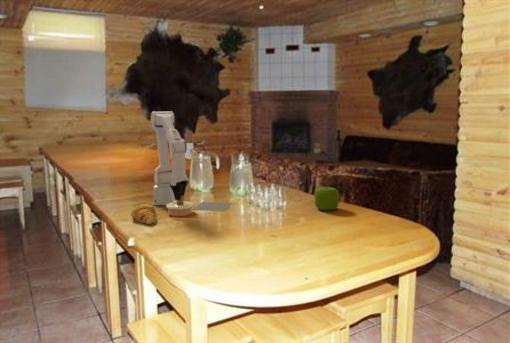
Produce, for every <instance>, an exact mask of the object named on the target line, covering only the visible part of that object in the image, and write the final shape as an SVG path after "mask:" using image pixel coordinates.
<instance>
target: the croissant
mask: <svg viewBox="0 0 510 343" xmlns="http://www.w3.org/2000/svg"><path fill="white" fill-rule="evenodd" d="M130 216H131V218H132V219H133V220H134V221H135V222H139V223H142V224H146V225H151V224H153V223H155V222H156V221H157V216H158V215H157V212H156V209H155V208H154V206H153V205H151V204H148V203H141V204H138V205H136V206H135V207H134V208H133V210H132V211H131V213H130Z"/></svg>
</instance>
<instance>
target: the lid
mask: <svg viewBox="0 0 510 343" xmlns="http://www.w3.org/2000/svg"><path fill="white" fill-rule="evenodd" d="M184 198H185V195H184V196H183V195H181V199H180V200H176V201H177V202H171V203H168V204H167V205H165V206H166V208H167V209H173V210H183V209H189V208H192V209H193V208H195V203H194V202H193V201H189V200H188V201H186V200H185V199H184Z"/></svg>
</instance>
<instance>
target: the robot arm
mask: <svg viewBox="0 0 510 343" xmlns="http://www.w3.org/2000/svg"><path fill="white" fill-rule="evenodd" d="M150 122H151V123H150V124H151V130H153V131H155V134H156V143H157V154H158V162H159V164H158V166H157V167H156V168H155V169H154V171H153V172H154V173H153V174H154V175H153V180H154V184H155V185H154V186H153V188H152V206H166V205H167V204H168V203H171V202H177V200H180V199H181V195H183V196H184V197H185V193H186V189H187V186H188V184H189V177H187V174H186V153H187V150H188V147H187V146H188V144H187V141H186V139H184V138H182V137H181V135H180V133H179V132H180V131H178V130H177V129H176V128H175V125H174V123H175V114H174V112H173V111H172V110H170V111H168V110H167V111H155V110H154V111H153V110H152V112H151V114H150ZM168 144H169V145H168ZM169 155H170V156H169ZM169 157H170V158H171V164H170V158H169Z"/></svg>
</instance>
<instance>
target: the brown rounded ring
mask: <svg viewBox="0 0 510 343" xmlns="http://www.w3.org/2000/svg"><path fill="white" fill-rule="evenodd" d="M167 209H168V208H167ZM192 209H193V207H192V208H189V209H183V210H173V209H168V211H167V212H168V215H169V216H173V217H184V216H185V217H186V216H188V215H191V214H192V213H193V210H192Z"/></svg>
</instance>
